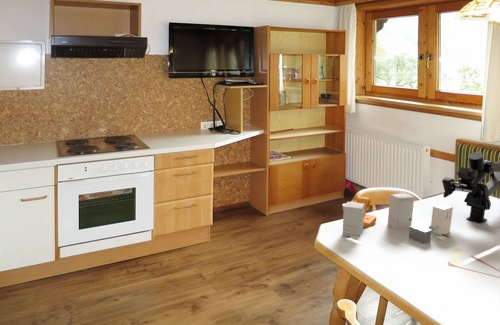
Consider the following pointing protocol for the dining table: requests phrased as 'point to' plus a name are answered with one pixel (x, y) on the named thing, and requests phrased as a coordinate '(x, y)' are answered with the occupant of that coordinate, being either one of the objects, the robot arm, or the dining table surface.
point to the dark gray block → (420, 234)
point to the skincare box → (400, 211)
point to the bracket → (368, 219)
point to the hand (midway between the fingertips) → (454, 198)
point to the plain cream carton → (441, 219)
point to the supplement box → (353, 218)
